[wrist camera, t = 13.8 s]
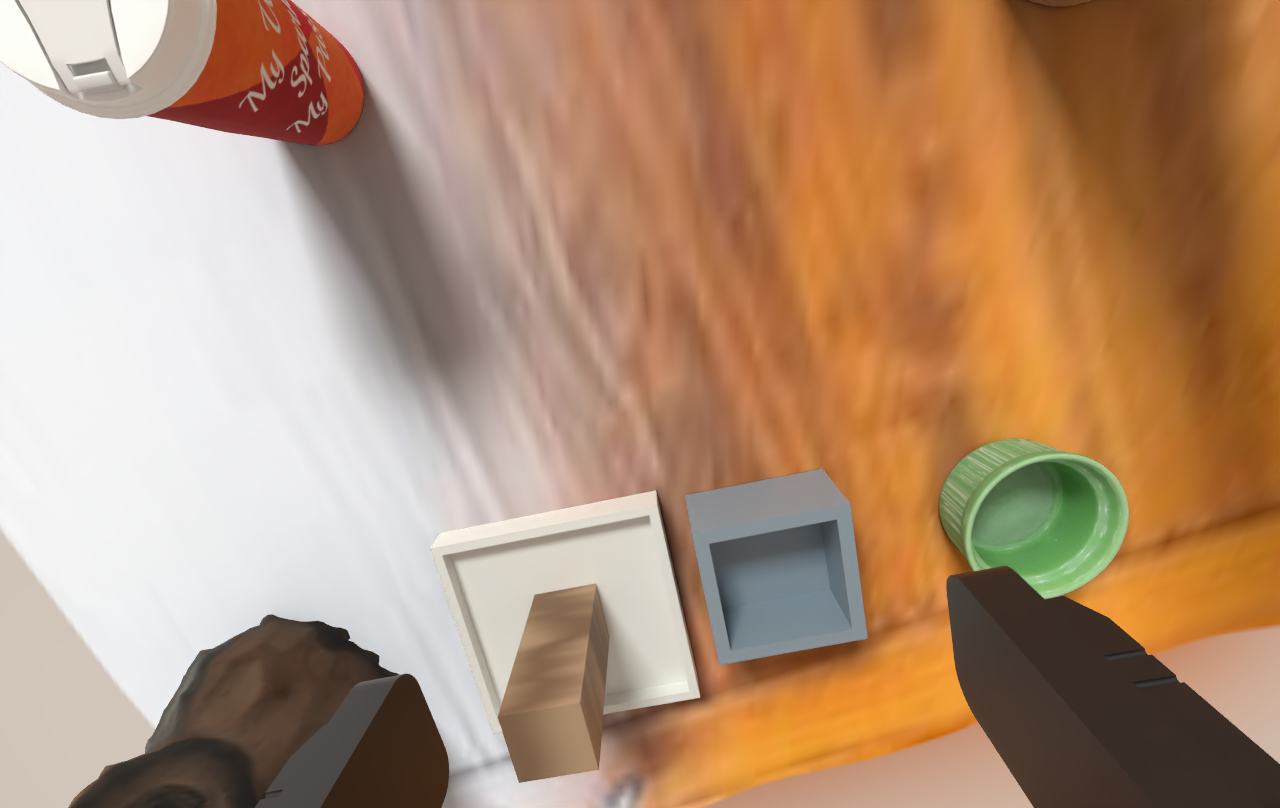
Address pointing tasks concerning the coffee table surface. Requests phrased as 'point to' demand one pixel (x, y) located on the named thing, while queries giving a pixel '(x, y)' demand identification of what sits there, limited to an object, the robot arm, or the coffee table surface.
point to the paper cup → (188, 64)
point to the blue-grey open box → (778, 566)
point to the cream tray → (566, 558)
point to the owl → (239, 718)
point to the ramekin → (1035, 513)
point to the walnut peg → (558, 686)
